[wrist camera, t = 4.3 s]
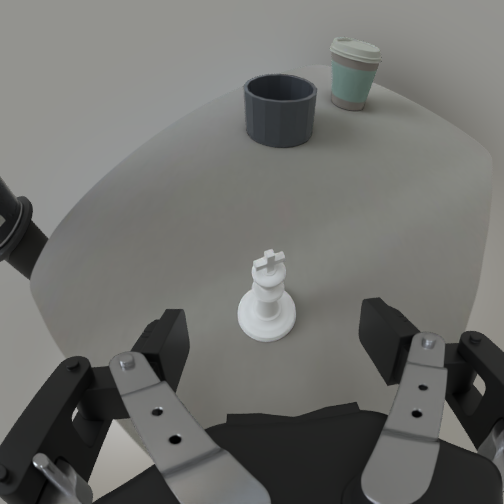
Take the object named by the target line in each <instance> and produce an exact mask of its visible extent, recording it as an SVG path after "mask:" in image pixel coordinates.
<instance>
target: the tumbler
mask: <svg viewBox="0 0 504 504" xmlns="http://www.w3.org/2000/svg"><path fill="white" fill-rule="evenodd" d="M243 89H244V105H245V122H246V131H247V133H248V135H249V136H250V138H252V139H253V140H254V141H256V142H258V143H260V144H263V145H266V146H271V147H281V148H282V147H293V146H297V145H300V144H303V143H304V142H306V141H307V140H308V139H309V138H310V137H311V135H312V129H313V122H314V114H315V106H316V97H317V88H316V87H315V85H314V84H313V83H311V82H309V81H308V80H306V79H304V78H300V77H297V76H293V75H286V74H267V75H262V76H257V77H254V78H252V79H250V80H248V81H247V82H246V83H245V85H244V86H243Z"/></svg>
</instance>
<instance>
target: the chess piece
mask: <svg viewBox="0 0 504 504" xmlns="http://www.w3.org/2000/svg"><path fill="white" fill-rule="evenodd" d="M253 262H254V265H253V267H252V276H253V279H254V282H253V284H252V289H251V290H249V291H248V292H247V293H246V294H245V295H244V296H243V298H242V299H241V301H240V303H239V307H238V321H239V324H240V326H241V328H242V330H243V331H244V332H245V333H246V334H247V335H248V336H250V337H251V338H253V339H255V340H258V341H263V342H271V341H276V340H278V339H281V338H282V337H284V336H285V335H287V334H288V333H289V332H290V330H291V329H292V327H293V325H294V323H295V319H296V308H295V304H294V302H293V300H292V298H291V297H290V295H289V294H288V293H287V292H286V291H284V283H283V281H284V279H285V276H286V268H285V265H284V264H283V262H285V256H284V254H283V252H282V251H281V252H278V253H275V254H274V252H273V250H272V249H270V250H267V251H264V257H262V258H260V259H258V260H255V261H253Z"/></svg>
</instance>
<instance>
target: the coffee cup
mask: <svg viewBox="0 0 504 504" xmlns="http://www.w3.org/2000/svg"><path fill="white" fill-rule="evenodd" d="M330 50H331V51H332V102H333V103H334V104H335V105H337V106H338V107H340V108H343V109H346V110H351V111H358V110H361V109H363V106H364V104H365V101H366V99H367V96H368V93H369V90H370V88H371V85H372V82H373V79H374V77H375V74H376V71H377V68H378V65H379V63H380V62H382V61H381V58H382V57H381V55H380V49H379V48H377V47H376V46H374V45H372V44H369V43H367V42H363V41H360V40H356V39H351V38H342V37H341V38H340V37H339V38H335V39H334V41H333V43H332V44H331V47H330Z"/></svg>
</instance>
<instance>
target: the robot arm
mask: <svg viewBox="0 0 504 504" xmlns="http://www.w3.org/2000/svg"><path fill="white" fill-rule="evenodd" d="M23 211H24V208H23V205H22V203H21V202H20V201H19V200H18V199H17V198H16V197H15V196H14V194H13V193H12V192H11V191H10V189H9V188H8V186H7V185H6V184H5V182H4V181H3V180H2V178H1V177H0V249H1V248H2V247H3V246H5V245H6V243H7V242H8V241H9V240H10V239H11V237H12V236H13V235H14V233H15V232H16V230H17V228H18V226H19V224H20V222H21V219H22V216H23ZM359 339H360V342H361V344H362V345H363V347H364V348H365V350H366V352H367V353H368V355H369V356H370V358H371V360H372V361H373V363H374V364H375V366H376V368H377V369H378V371H379V373H380V374H381V376H382V377H383V379H384V381H385V382H386V384H387V386H389V385H394V384H399V387H398V390H397V393H396V396H395V399H394V402H393V405H392V407H391V410H390V413H389V415H386V414H383V413H379V412H375V411H367V410H360V409H359V407H358V404H357V402H353V403H348V404H342V405H336V406H330V407H325V408H322V409H319V410H316V411H313V412H310V413H307V414H304V415H300V416H296V417H288V416H279V415H270V414H262V413H253V414H227V421H226V423H223V424H219V425H215V426H212V427H209V428H207V429H205V430H204V429H203V428H202V427H201V426H200V424H199V423H198V422H197V421H196V420H195V418H194V417H193V416H192V415H191V413H190V412H189V411H188V410H187V408H186V407H185V406H184V405H183V403H182V402H181V401H180V399H179V398H178V397H177V395H176V394H175V393H176V389H177V386H178V383H179V380H180V377H181V374H182V371H183V369H184V366H185V363H186V360H187V357H188V354H189V348H190V343H189V336H188V330H187V324H186V318H185V313H184V310H183V309H166V310H165V312H164V314H163V315H162V317H161V318H160V320H154V321H153V322H151V323H150V324H148V325H147V327H146V328H145V330H144V332H143V333H142V334H141V336H140V337H139V339H138V340H137V342H136V343H135V345H134V346H133V348H132V349H131V351H130V352H123V353H120V354H118V355H116V356H115V357H113V358H112V359H111V361H110V363H109V366H105V367H94V368H92V367H91V365H90V362H89V360H88V359H87V358H85V357H82V356H75V357H70V358H68V359H66V360H64V361H63V362H61V364H59V366H58V367H57V368H56V369H55V371H54V372H53V373H52V374H51V376H50V377H49V378H48V380H47V381H46V382H45V383H44V385H43V386H42V387H41V389H40V390H39V391H38V392H37V394H36V395H35V397H34V398H33V399H32V400H31V402H30V403H29V405H28V406H27V407H26V409H25V410H24V411H23V413H22V415H21V416H20V417H19V418H18V420H17V422H16V423H15V424H14V426H13V427H12V429H11V430H10V432H9V433H8V435H7V436H6V438H5V439H4V441H3V442H2V444H1V445H0V497H1V498H2V499H3V500H4V501H5V502H7V503H8V504H503V497H502V495H503V492H504V352H503V351H502V350H500V348H498V347H497V346H496V345H495V344H494V343H493V342H492V341H491V340H490V339H489V338H487V337H486V336H485V335H484V334H482V333H479V332H476V331H466V332H464V333H463V334H462V335H461V338H460V341H459V343H451V344H445V341H444V339H443V338H442V337H441V336H439V335H438V334H435V333H432V332H420V331H419V330H418V329H417V328H416V327H415V326H414V325H413V324H412V323H411V322H410V321H409V320H408V319H407V318H406V317H404V315H403V314H402V313H401V312H400V311H399V310H397V309H395V308H393V307H391V306H388V305H387V304H386V303H385V302H384V301H383V300H382V299H381V298H379V297H378V298H369V299H364V300H363V302H362V307H361V316H360V324H359ZM477 374H478V375H479V376H480V377H481V378H482V379H483V381H484V382H485V386H486V390H485V393H484V395H483V396H482V395H481V394H480V392H479V391H478V390H477V388H476V387H475V386H474V385H473V382H474V380H475V378H476V376H477ZM444 400H446V401H447V403H448V404H449V406H450V407H451V409H452V410H453V412H454V414H455V415H456V416H457V418H458V420H459V421H460V423H461V425H462V426H463V428H464V429H465V431H466V433H467V434H468V436H469V437H470V439H471V441H472V443H473V444H474V446H475V448H476V449H477V451H478V452H477V453H474V452H471V451H469V450H466V449H464V448H461V447H458V446H456V445H453V444H451V443H448V442H446V441H443V440H441V439H439V438H438V437H439V431H440V426H441V420H442V415H443V408H444ZM76 407H77V409H78V412H77V414H76V416H75V418H74V420H73V421H72V414H73V412H74V410H75V408H76ZM125 418H131V420H132V422H133V424H134V426H135V428H136V430H137V432H138V434H139V436H140V438H141V440H142V442H143V444H144V445H145V447H146V449H147V451H148V453H149V455H150V456H151V458H152V460H153V462H154V463H155V464H154V465H152V466H151V467H149V468H148V469H146V470H145V471H143V472H142V473H140V474H139V475H137V476H136V477H134V478H133V479H131V480H129V481H128V482H126V483H125V484H123V485H121V486H120V487H118V488H116V489H115V490H113V491H111V492H109V493H108V494H106V495H104V496H102V497H101V498H99V499H98V500H96V501H95V502H93V503H92V500H93V493H92V490H91V487H90V486H89V485H88V481H89V478H90V475H91V473H92V470H93V467H94V465H95V462H96V459H97V457H98V454H99V452H100V449H101V447H102V444H103V442H104V439H105V437H106V435H107V432H108V430H109V427H110V425H111V423H112V420H113V419H125Z"/></svg>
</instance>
